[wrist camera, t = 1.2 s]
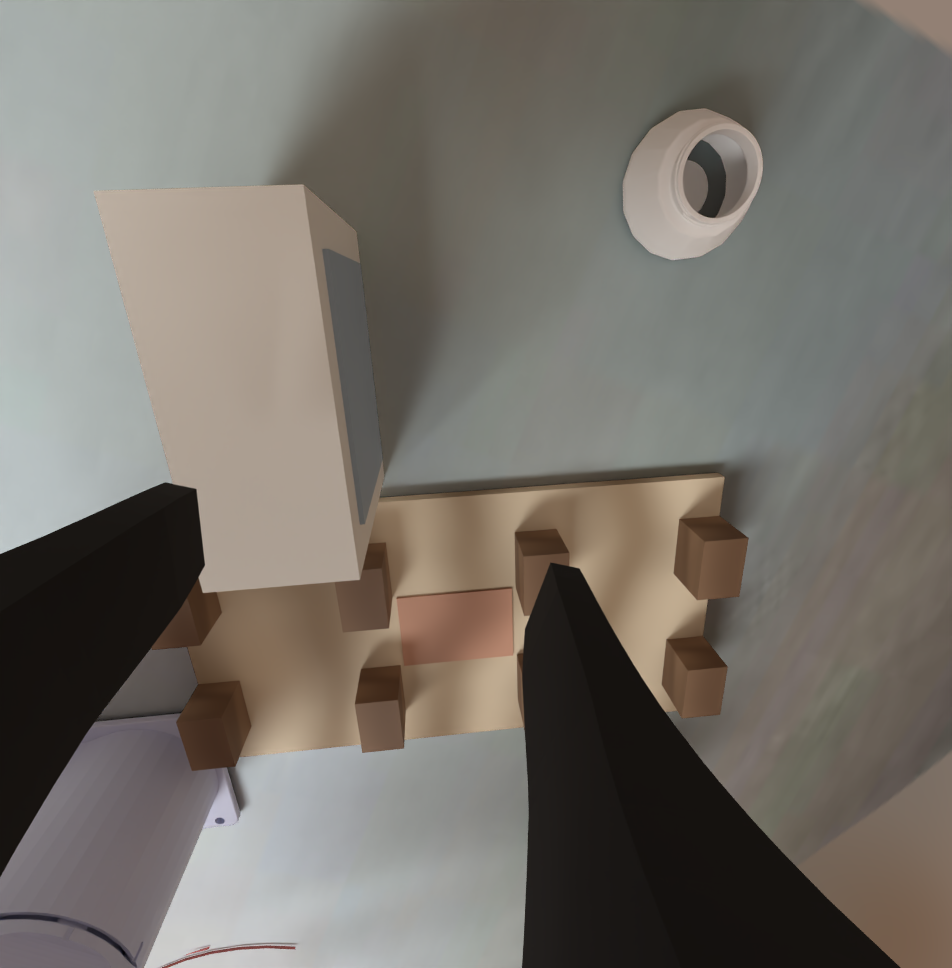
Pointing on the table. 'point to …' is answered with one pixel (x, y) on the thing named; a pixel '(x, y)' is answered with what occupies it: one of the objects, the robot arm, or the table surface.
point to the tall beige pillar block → (256, 373)
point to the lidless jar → (688, 184)
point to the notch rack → (458, 618)
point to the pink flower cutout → (226, 951)
